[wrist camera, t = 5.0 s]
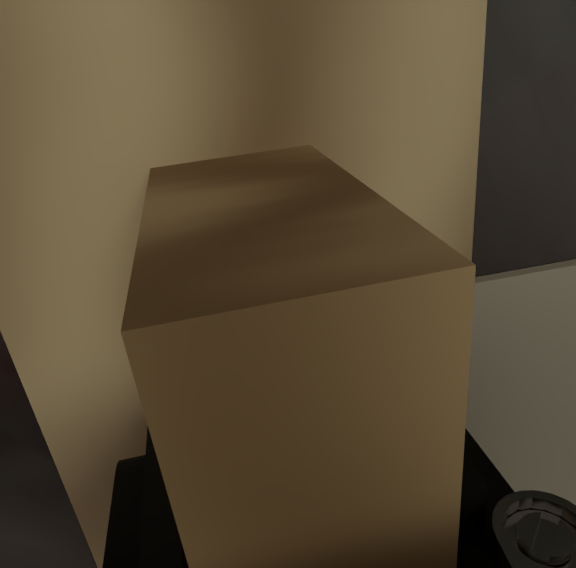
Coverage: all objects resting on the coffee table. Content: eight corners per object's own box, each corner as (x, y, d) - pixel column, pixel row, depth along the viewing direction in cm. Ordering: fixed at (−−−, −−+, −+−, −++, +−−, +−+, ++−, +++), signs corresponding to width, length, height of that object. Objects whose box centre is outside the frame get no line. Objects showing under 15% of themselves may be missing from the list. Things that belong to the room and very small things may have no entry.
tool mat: (650, 245, 27) (659, 249, 26) (586, 531, 37) (592, 538, 36) (376, 295, 25) (380, 300, 25) (385, 580, 35) (388, 589, 34)
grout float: (458, -112, 10) (1045, -431, 3) (435, 539, 17) (588, 826, 11) (-125, -65, 8) (-1195, -459, 2) (137, 618, 16) (115, 996, 10)
